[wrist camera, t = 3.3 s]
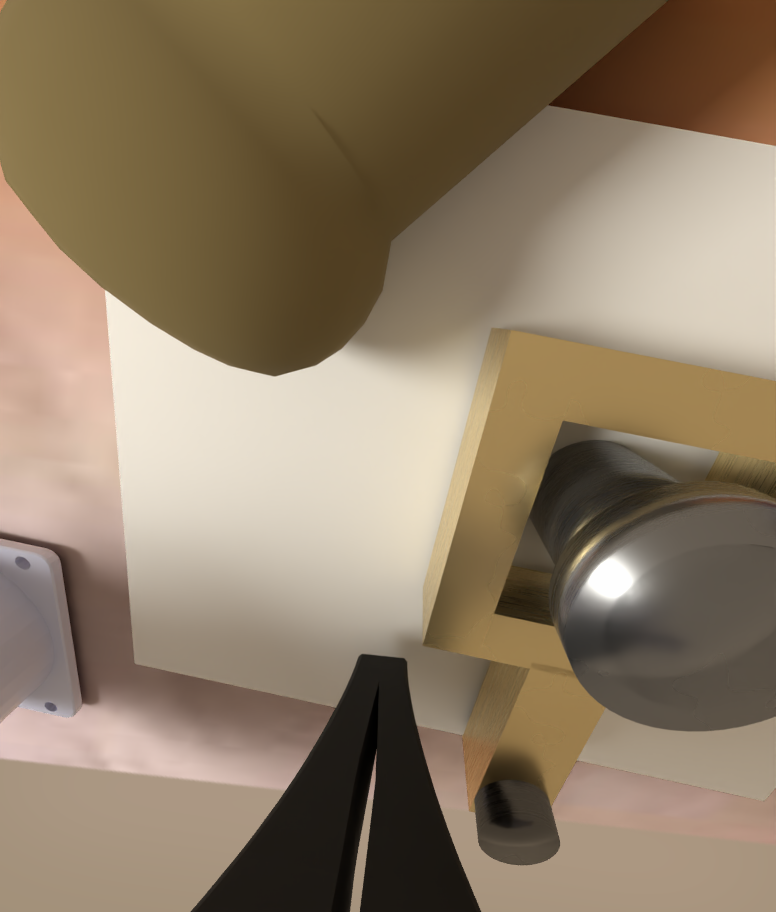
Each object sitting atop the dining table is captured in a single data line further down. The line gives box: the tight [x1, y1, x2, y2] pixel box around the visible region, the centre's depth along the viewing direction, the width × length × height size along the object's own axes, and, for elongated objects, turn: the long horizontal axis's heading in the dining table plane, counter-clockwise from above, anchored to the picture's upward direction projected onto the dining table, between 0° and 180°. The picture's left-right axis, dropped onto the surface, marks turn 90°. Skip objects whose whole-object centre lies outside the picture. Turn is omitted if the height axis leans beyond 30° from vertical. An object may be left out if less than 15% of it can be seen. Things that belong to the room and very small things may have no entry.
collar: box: [422, 327, 776, 865], centre depth 9 cm, size 13×7×3 cm, turn 170°
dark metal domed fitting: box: [529, 440, 776, 732], centre depth 9 cm, size 12×12×4 cm
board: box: [105, 105, 776, 801], centre depth 10 cm, size 22×17×1 cm
